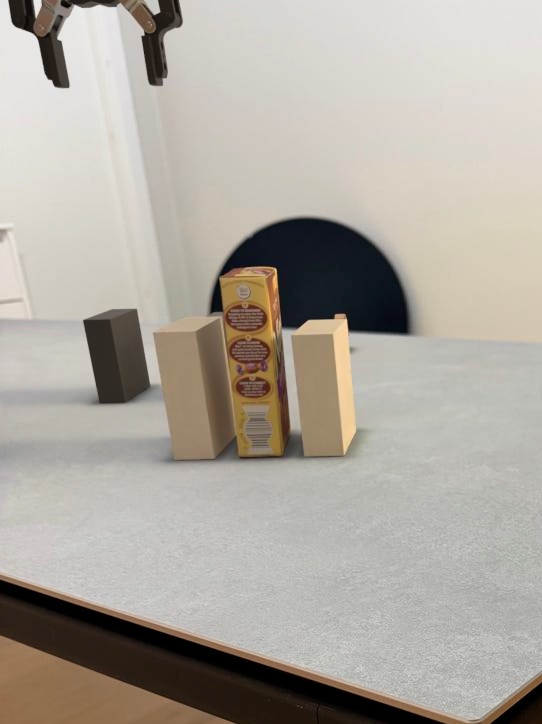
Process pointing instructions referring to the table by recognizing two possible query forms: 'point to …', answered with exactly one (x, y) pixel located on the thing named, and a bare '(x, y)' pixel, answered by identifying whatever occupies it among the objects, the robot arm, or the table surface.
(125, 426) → the table surface
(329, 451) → the beige blocks
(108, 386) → the grey rectangular blocks
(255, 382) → the candy box
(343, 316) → the perforated watch strap
